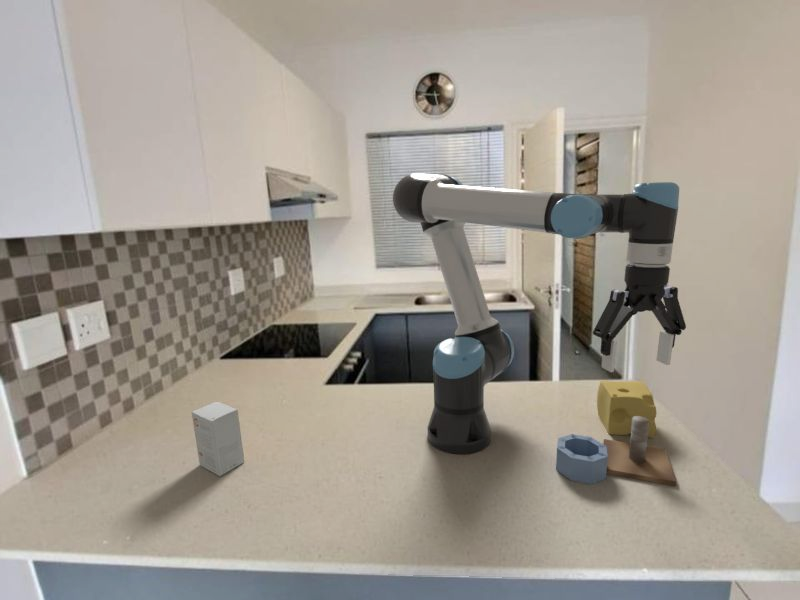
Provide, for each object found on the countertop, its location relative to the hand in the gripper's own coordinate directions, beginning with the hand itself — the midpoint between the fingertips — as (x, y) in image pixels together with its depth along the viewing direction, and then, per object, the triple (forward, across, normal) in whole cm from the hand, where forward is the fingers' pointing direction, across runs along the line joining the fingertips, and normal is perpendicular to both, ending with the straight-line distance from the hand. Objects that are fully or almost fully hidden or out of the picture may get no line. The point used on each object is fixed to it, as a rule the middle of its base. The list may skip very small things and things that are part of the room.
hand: (635, 366), depth 87 cm
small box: (+23, -86, +23) cm, 92 cm away
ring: (+21, -12, -1) cm, 24 cm away
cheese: (+21, +9, +11) cm, 25 cm away
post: (+21, 0, -3) cm, 21 cm away
